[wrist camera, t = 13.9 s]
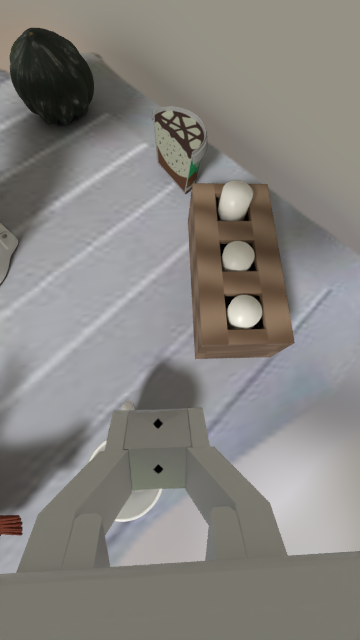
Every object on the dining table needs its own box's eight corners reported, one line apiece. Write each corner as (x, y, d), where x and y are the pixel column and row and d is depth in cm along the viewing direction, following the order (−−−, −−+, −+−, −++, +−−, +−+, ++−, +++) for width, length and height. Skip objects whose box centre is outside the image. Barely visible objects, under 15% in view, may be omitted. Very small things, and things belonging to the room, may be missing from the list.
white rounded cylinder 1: (245, 227, 45) (254, 204, 40) (217, 227, 44) (223, 204, 40) (242, 204, 46) (251, 180, 41) (215, 204, 46) (221, 179, 41)
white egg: (253, 336, 42) (264, 325, 37) (223, 336, 41) (230, 326, 37) (249, 308, 43) (259, 294, 38) (220, 308, 43) (227, 294, 38)
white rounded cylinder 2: (246, 283, 44) (256, 267, 40) (218, 284, 44) (225, 267, 39) (243, 259, 46) (252, 240, 41) (216, 259, 46) (222, 240, 41)
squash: (66, 42, 60) (-1, -16, 46) (118, 79, 58) (63, 30, 44) (44, 112, 66) (-22, 79, 52) (90, 148, 64) (34, 123, 50)
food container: (214, 185, 56) (224, 138, 47) (189, 199, 55) (194, 154, 45) (178, 146, 59) (180, 94, 50) (153, 158, 58) (151, 107, 48)
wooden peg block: (270, 357, 45) (294, 342, 37) (195, 358, 44) (202, 344, 36) (251, 221, 54) (267, 184, 45) (188, 221, 53) (192, 183, 44)
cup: (104, 499, 38) (84, 526, 28) (104, 405, 42) (86, 401, 32) (167, 491, 38) (167, 516, 29) (160, 400, 42) (159, 394, 33)
